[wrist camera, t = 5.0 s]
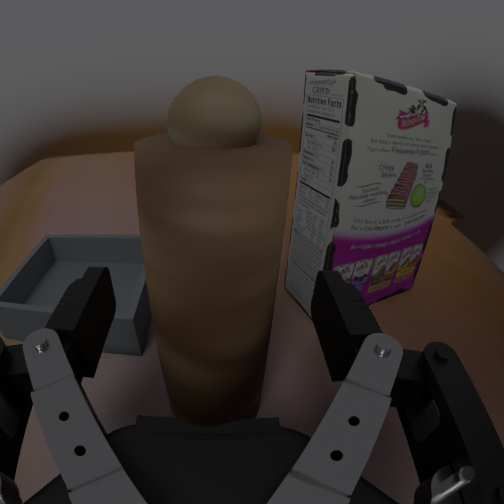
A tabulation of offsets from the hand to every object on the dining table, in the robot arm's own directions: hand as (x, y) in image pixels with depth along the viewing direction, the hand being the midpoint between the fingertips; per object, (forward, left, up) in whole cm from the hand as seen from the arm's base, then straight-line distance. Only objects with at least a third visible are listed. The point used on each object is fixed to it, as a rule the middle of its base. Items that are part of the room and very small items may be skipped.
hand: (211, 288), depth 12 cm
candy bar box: (-11, -10, -8) cm, 17 cm away
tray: (+10, -8, -8) cm, 15 cm away
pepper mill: (0, 0, -8) cm, 8 cm away
